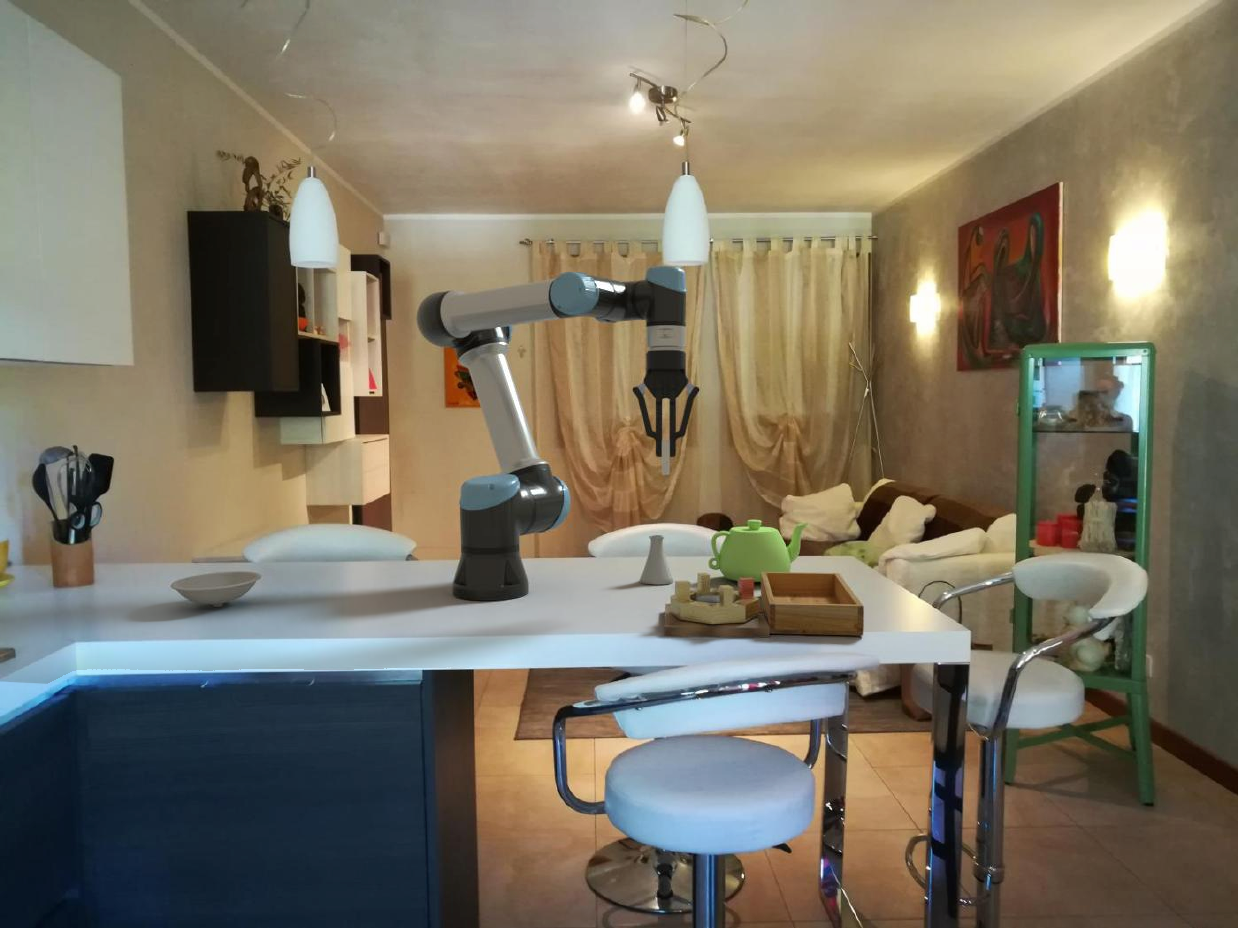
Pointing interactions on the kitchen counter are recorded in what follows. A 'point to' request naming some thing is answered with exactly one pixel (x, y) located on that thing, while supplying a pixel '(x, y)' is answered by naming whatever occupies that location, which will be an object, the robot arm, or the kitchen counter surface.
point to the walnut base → (715, 625)
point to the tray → (810, 604)
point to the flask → (656, 564)
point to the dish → (216, 586)
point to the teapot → (754, 551)
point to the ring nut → (727, 610)
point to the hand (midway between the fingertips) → (665, 474)
